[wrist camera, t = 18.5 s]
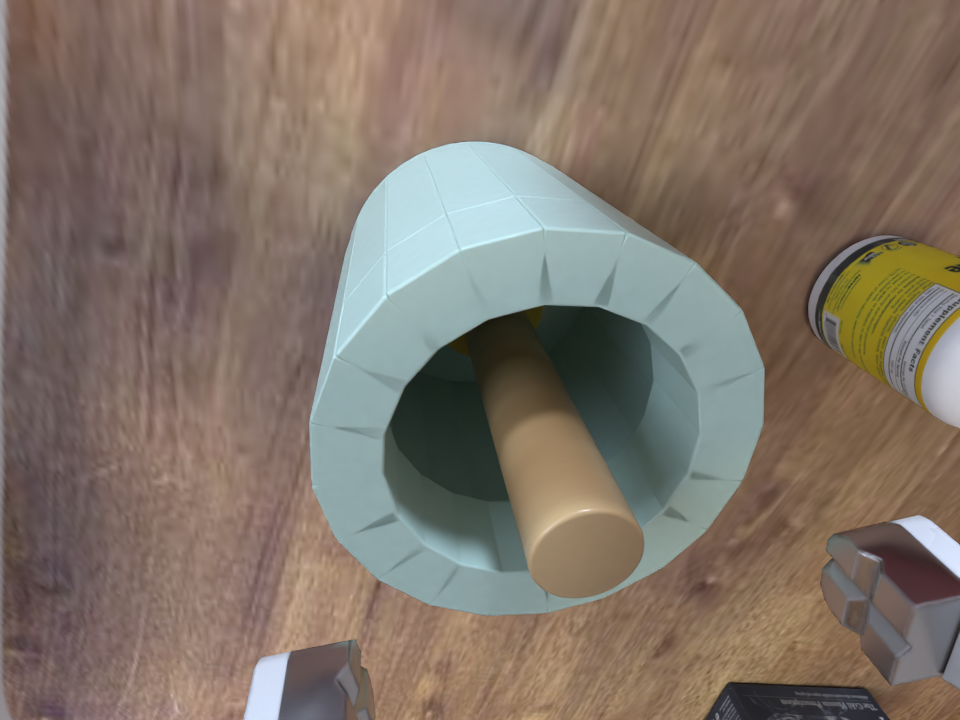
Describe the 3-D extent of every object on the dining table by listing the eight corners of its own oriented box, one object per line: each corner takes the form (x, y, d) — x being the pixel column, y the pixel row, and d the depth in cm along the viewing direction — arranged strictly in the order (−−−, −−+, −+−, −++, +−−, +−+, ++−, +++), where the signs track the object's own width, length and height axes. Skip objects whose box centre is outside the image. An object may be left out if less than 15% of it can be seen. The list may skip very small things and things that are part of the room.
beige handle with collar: (430, 333, 27) (479, 645, 12) (426, 236, 25) (477, 479, 10) (526, 327, 27) (676, 620, 13) (529, 232, 25) (711, 457, 11)
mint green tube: (347, 377, 28) (315, 625, 16) (346, 129, 23) (301, 211, 11) (571, 382, 30) (698, 606, 18) (614, 153, 25) (831, 245, 13)
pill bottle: (943, 264, 30) (1209, 364, 20) (858, 362, 32) (1062, 495, 22) (862, 209, 28) (1114, 290, 18) (778, 318, 30) (964, 442, 20)
